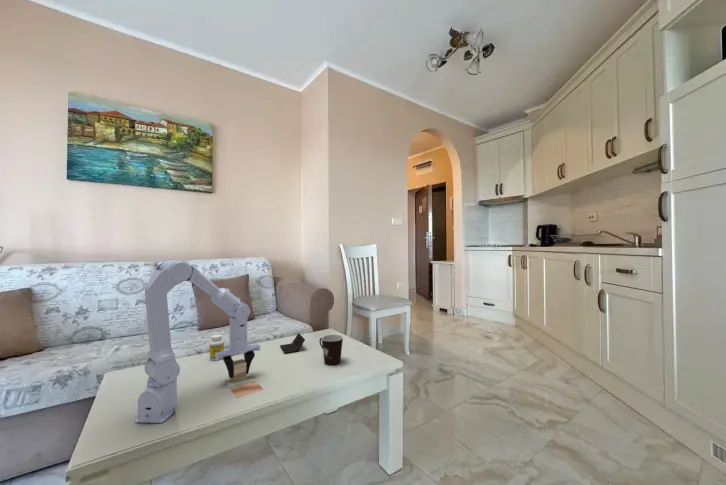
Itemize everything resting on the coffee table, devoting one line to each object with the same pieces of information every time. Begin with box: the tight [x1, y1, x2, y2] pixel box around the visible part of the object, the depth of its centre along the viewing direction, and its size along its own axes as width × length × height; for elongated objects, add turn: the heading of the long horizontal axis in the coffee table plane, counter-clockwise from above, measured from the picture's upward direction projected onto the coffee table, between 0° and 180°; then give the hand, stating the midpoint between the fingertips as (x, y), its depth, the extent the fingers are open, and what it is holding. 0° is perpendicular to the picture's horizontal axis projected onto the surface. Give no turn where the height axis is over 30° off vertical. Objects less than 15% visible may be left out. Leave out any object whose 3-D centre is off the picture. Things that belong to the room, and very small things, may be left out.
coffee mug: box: [319, 334, 344, 367], centre depth 124 cm, size 12×9×10 cm
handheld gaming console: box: [279, 332, 306, 355], centre depth 138 cm, size 12×7×10 cm
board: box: [223, 372, 264, 399], centre depth 102 cm, size 18×10×1 cm, turn 38°
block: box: [231, 358, 246, 383], centre depth 105 cm, size 4×4×6 cm
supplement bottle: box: [209, 334, 225, 362], centre depth 127 cm, size 5×5×10 cm
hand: (238, 375), depth 105 cm, fingers open, 5 cm apart
